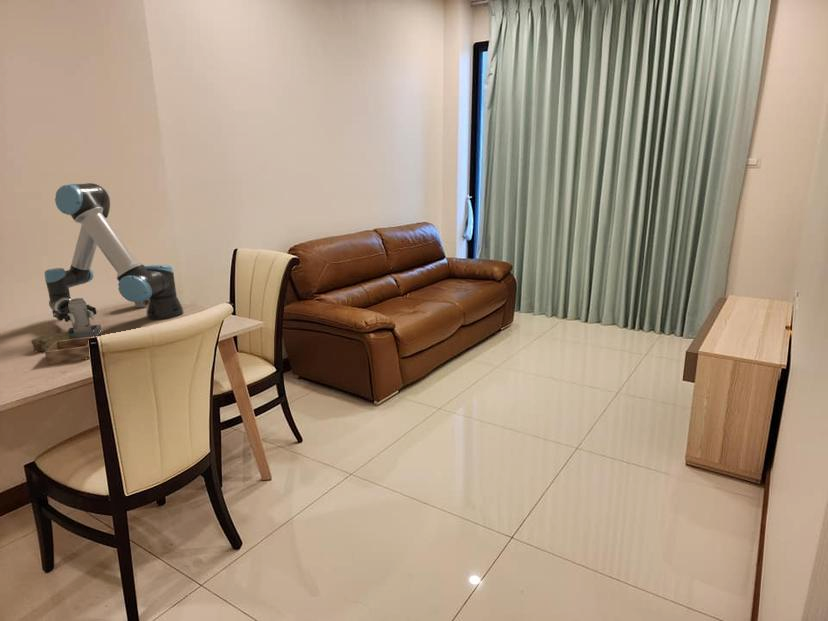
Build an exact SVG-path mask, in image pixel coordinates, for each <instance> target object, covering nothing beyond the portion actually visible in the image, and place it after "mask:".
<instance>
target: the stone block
mask: <svg viewBox="0 0 828 621" xmlns="http://www.w3.org/2000/svg"><path fill="white" fill-rule="evenodd" d="M69 339H70V337H69V334H68V333H67V331H58V332H54V333H49V334H47V335H43V336H40V337H37V338H33V339H32V340H31V344H32V347H33V351H34V352H36V351H37V352H36V353H39V352H41V353H43V352H46V350H47V349H48V348H49V347H50V346H51V345H52V344H53V343H54V342H55V341H61V340H69Z"/></svg>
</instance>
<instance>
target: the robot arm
mask: <svg viewBox="0 0 828 621" xmlns="http://www.w3.org/2000/svg"><path fill="white" fill-rule="evenodd" d="M54 202H55V206H56V208H57V209H58V210H59V211H60V212H61V213H62V214H65V215H68V216H71V218H72V219H73V221H74V222H75V223H77V224H80V230H79V234H78V237H77V241H76V246H75V249H74V252H73V256H72V260H71V263H70V268H69V269H68V270H65V269H64V268H62V267H55V268H48V269H46V270H45V271H44V280H45V284H46V288H47V291H48V296H49V297H48V298H49V300H48V306H49V308H51V310H52V316H53V318H56V319H57V320H58V321H60V322H62V321H63V320H64V322H65V323H68V322H71V324H72V323H75V318H74V316H73V315H72V314H70V311H69V306H68V304H69V300H71V299H72V298H71V293H70V288H74V287H75V286H80V285H84V284H86V283H88V282H91V281H92V280H93V278H94V271H93V270H92V268H91V267H92V264H93V260H94V257H95V253H96V249H97V247H98V248H99V249H100V251H101V252H102V254H103V255H104V256H105V257H106V260H108V262H109V263H110V265H111V266H112V268H114V270H115V271H116V273H117V275H116V280H117V281H118V284H117V285H118V286H117V287H118V288H117V289H118V292H119V294H120V295H121V296H122V298H124V299H125V300H127V301H129V302H132V303H135V302H141V301H146V300H147V299H149V302H148V307H146V317H147V318H148V319H150V320H165V318H166V319H171V318H176V317H179V316H182V315H183V314H184V308H183V305H182V303H181V302H180V300H179V298H178V296H177V290H176V281H175V277H174V276H175V275H174V269H173V267H172V266H171V265H169V264H155V265H144V264H143V263H139V262H137V259H135V257H134V256H133V255H132V253H131V252H130V251H129V249H128V247H127V246H126V245H125V243H124V242H123V241H122V239H121V238H120V237H119V235H118V234H117V231H115V229H113V226H112V225H111V224H110V222H109V221H108V220H107V218H108V217H109V213H110V211H111V210H110V209H111V200H110V196H109V194H108V192H107V191H106V189H105V188H103V186H101V185H99V184H98V183H97V184H96V183H93V182H92V183H69V184H65V185H61V186H60V187H59V188H58V189H56V192H55V198H54ZM86 305H87V310H88V315H89V319H92V320H95V315H97V308H96V307H93V306H92V305H90V304H86Z"/></svg>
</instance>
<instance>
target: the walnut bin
mask: <svg viewBox="0 0 828 621" xmlns="http://www.w3.org/2000/svg"><path fill="white" fill-rule="evenodd" d="M94 337H96V336H94ZM89 338H91V337H85V338H77V339H69V340H61V341H55V342H54V343H53V344H52V345H51V346H50V347H49V348H48V349H47V350H46V351H44V354H45V359H46V363H47V365H55V364H54V363H56V364H63V363H69V361H71V362H76V361H75V360H78V361H82V360H81V359H85V360H90V359H89V358H90V357H89V345H88V339H89ZM96 338H97V337H96ZM86 358H87V359H86ZM62 362H63V363H62Z"/></svg>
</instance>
